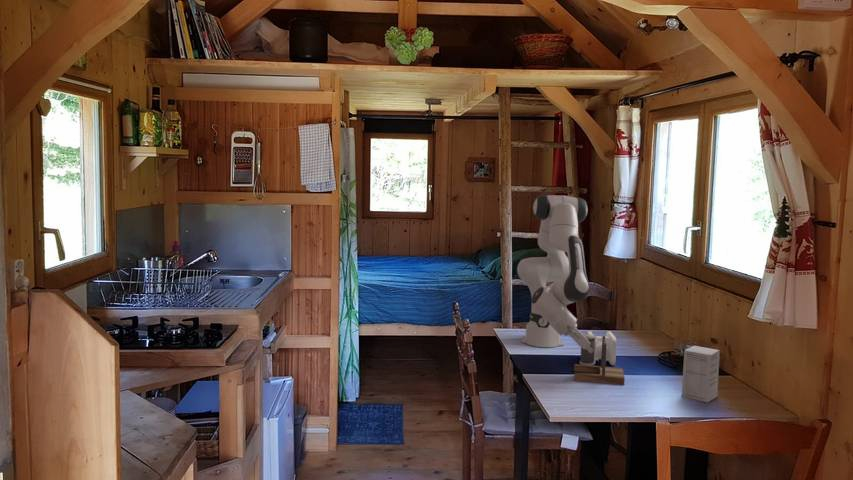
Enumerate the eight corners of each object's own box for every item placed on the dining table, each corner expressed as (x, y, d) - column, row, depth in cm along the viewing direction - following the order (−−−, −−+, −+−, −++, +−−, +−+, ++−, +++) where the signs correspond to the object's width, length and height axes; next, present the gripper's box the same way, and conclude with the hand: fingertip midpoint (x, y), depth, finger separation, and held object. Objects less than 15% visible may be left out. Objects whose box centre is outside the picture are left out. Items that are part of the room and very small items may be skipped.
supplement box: (717, 396, 241) (721, 350, 240) (708, 403, 235) (711, 355, 233) (690, 390, 248) (693, 344, 246) (680, 396, 241) (683, 349, 239)
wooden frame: (574, 370, 269) (575, 333, 267) (621, 374, 265) (624, 337, 263) (574, 380, 256) (575, 342, 254) (624, 384, 252) (626, 346, 251)
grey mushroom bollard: (579, 360, 264) (580, 333, 263) (594, 361, 263) (596, 334, 262) (579, 364, 259) (580, 337, 258) (595, 366, 258) (596, 338, 257)
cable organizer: (616, 368, 273) (617, 339, 272) (589, 366, 274) (590, 338, 273) (608, 357, 288) (610, 330, 287) (583, 356, 289) (584, 329, 288)
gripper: (578, 324, 249) (603, 351, 250) (564, 312, 269) (588, 337, 270) (565, 336, 249) (590, 362, 250) (553, 323, 269) (576, 348, 271)
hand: (589, 349), depth 261 cm, fingers closed on grey mushroom bollard, 5 cm apart
